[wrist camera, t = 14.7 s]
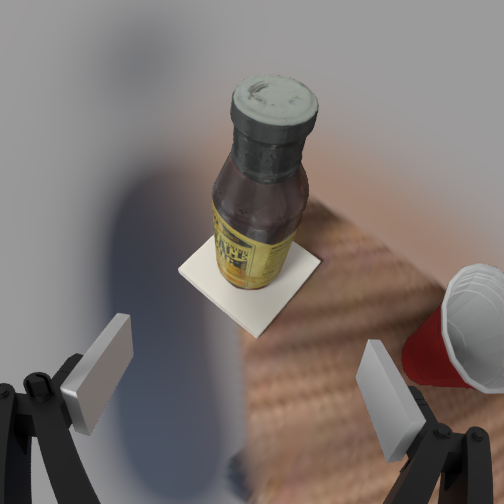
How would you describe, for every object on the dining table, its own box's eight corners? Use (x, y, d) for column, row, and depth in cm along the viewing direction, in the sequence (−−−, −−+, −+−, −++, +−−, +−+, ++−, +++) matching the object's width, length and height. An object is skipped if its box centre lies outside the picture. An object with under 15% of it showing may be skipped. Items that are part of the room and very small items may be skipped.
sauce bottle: (208, 248, 32) (186, 69, 14) (265, 228, 33) (295, 52, 15) (232, 307, 29) (230, 150, 11) (293, 284, 31) (363, 122, 13)
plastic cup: (413, 289, 32) (476, 234, 22) (472, 349, 29) (546, 316, 18) (357, 362, 28) (423, 331, 18) (425, 427, 25) (507, 421, 14)
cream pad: (318, 265, 33) (320, 261, 32) (257, 338, 29) (257, 336, 28) (244, 211, 35) (245, 205, 35) (179, 273, 32) (178, 268, 31)
